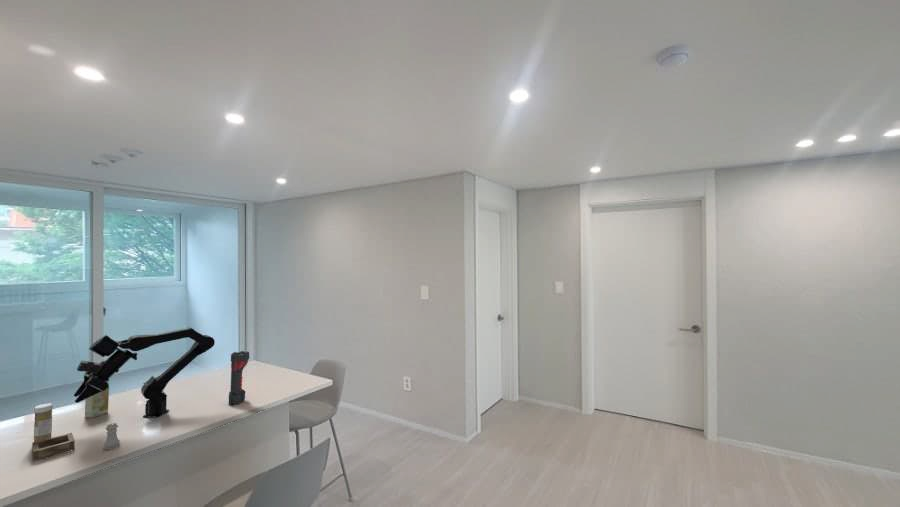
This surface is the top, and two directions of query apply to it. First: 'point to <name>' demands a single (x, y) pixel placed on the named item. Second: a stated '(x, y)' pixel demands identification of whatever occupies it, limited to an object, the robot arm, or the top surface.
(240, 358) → the flashlight
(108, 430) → the rook chess piece
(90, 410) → the skincare box
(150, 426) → the top surface
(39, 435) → the sprinkles bottle
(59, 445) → the walnut holder
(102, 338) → the robot arm
